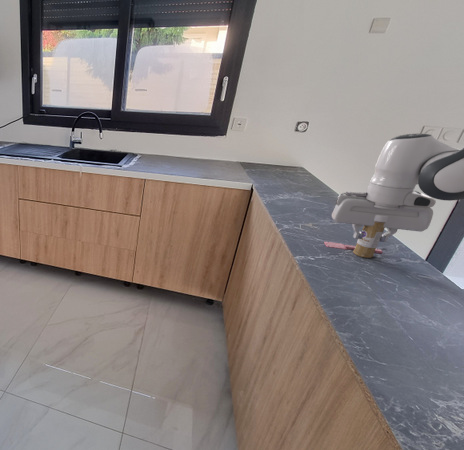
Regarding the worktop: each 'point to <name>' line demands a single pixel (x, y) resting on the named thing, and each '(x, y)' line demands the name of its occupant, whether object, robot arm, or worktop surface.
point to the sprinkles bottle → (370, 237)
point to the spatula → (345, 246)
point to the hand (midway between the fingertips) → (369, 239)
